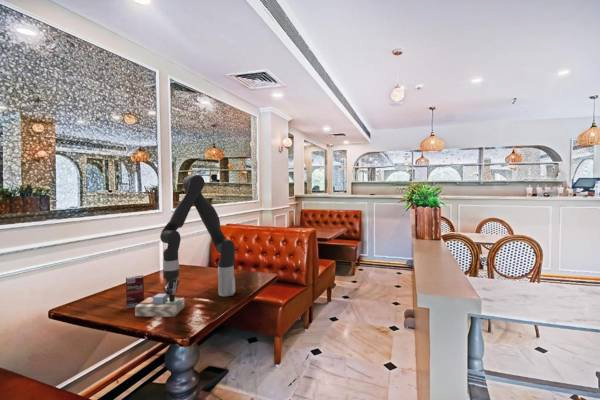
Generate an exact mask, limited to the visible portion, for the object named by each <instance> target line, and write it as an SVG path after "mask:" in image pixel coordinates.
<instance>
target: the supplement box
mask: <svg viewBox="0 0 600 400" xmlns="http://www.w3.org/2000/svg"><path fill="white" fill-rule="evenodd" d="M144 282H145V281H144V275H143V274H142V275H134V276H128V277H127V276H126V277H125V295H126V299H125V300H126V301H125V302H126V303H125V305H126V309H131V308H135V306H136V305H138V304H139V303H141V302H142V301H144V300H145V288H144V287H145V286H144V285H145V283H144Z"/></svg>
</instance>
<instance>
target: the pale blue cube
mask: <svg viewBox="0 0 600 400" xmlns="http://www.w3.org/2000/svg"><path fill="white" fill-rule="evenodd" d="M152 298H153V304H164V303H166V302H167V301H168V300H167V298H168V295H167V294H166V293H157V294H155V295H154V296H152Z"/></svg>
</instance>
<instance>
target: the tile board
mask: <svg viewBox="0 0 600 400" xmlns="http://www.w3.org/2000/svg"><path fill="white" fill-rule="evenodd" d="M146 299H153V297H147V298H144V300H146ZM175 299H179V302H178V303H177V304H176V305H171V304H165V303H164V304H153V303H152V304H141V303H139V304H138V305H136V306H135V307H134V314H135V317H163V318H164V317H165V318H166V317H169V318H170V317H172V318H174V317H176V316H177V315H178V314H179V313H180V312H181V311H182V310H183V309H184V308H185V297H175ZM167 300H168V301H169V297H167ZM142 302H143V301H142Z"/></svg>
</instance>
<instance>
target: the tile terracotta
mask: <svg viewBox="0 0 600 400" xmlns="http://www.w3.org/2000/svg"><path fill="white" fill-rule="evenodd" d="M145 299H146V300H145ZM145 299H144V301H143V302H141V304H152V303H153V299H147V298H145Z"/></svg>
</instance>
